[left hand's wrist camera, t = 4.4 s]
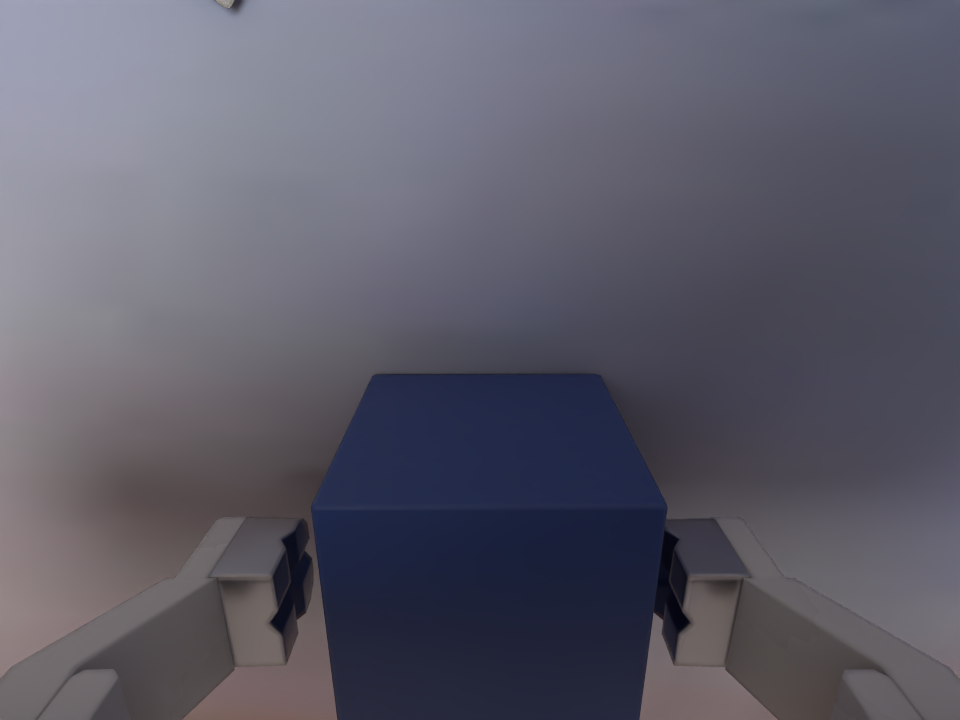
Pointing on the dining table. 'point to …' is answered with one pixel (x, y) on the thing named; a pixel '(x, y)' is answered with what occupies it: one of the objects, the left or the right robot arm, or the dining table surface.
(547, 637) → the cube
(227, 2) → the baking ingredient package
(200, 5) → the dining table surface
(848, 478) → the dining table surface
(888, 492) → the dining table surface
